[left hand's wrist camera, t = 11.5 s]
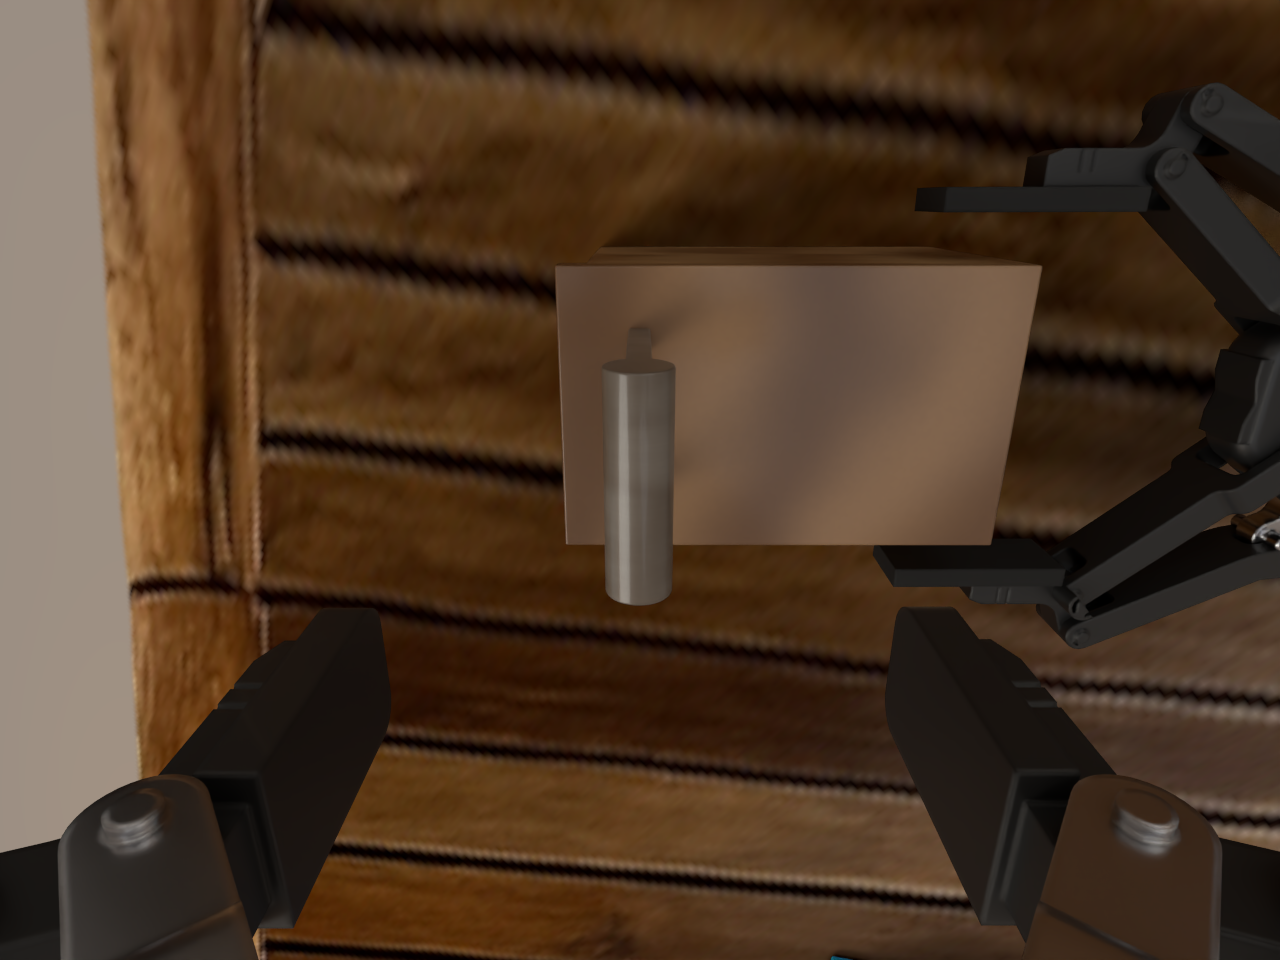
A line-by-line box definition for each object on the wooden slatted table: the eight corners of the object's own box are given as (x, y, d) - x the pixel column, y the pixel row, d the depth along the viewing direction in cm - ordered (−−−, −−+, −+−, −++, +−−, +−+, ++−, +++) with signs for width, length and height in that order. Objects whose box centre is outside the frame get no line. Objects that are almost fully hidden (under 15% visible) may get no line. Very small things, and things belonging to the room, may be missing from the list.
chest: (603, 457, 35) (592, 534, 27) (599, 246, 32) (585, 262, 24) (902, 457, 35) (980, 535, 27) (930, 246, 32) (1029, 262, 24)
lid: (567, 535, 27) (539, 665, 19) (557, 262, 24) (518, 292, 16) (981, 535, 27) (1112, 665, 19) (1030, 262, 24) (1212, 293, 16)
